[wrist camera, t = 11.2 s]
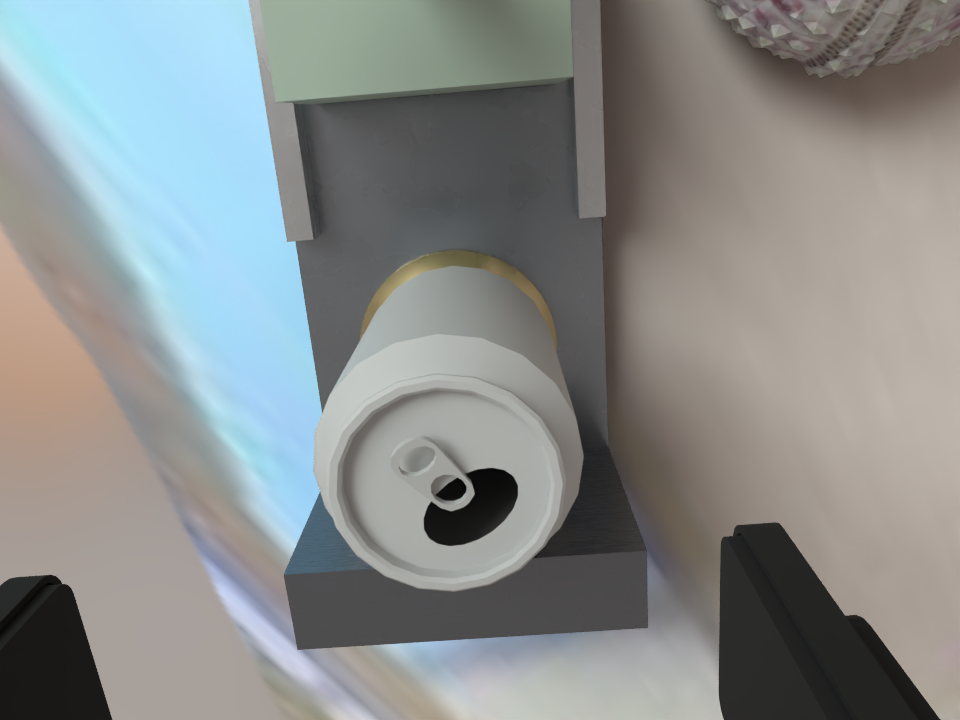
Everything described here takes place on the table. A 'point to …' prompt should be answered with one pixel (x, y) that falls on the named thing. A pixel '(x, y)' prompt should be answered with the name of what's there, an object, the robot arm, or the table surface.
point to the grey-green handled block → (413, 47)
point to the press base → (476, 244)
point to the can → (450, 434)
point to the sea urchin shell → (843, 30)
